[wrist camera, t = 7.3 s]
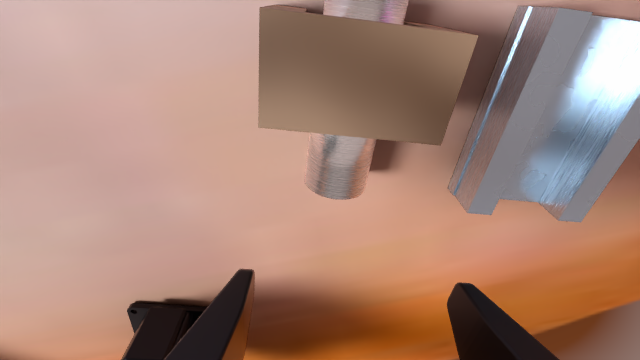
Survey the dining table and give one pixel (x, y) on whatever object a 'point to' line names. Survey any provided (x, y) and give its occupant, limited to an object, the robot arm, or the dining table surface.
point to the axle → (343, 151)
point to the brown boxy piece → (358, 75)
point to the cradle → (553, 114)
